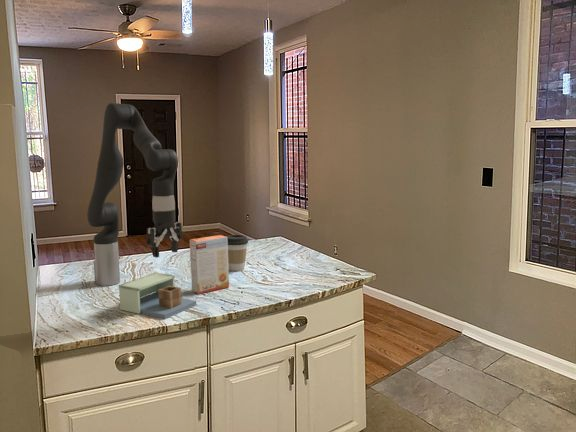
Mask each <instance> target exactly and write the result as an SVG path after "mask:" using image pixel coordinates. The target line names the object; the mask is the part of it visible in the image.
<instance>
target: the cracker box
mask: <svg viewBox="0 0 576 432" xmlns="http://www.w3.org/2000/svg"><path fill="white" fill-rule="evenodd" d="M189 253H190V254H189V257H190V258H189V259H190V276H191V277H190V279H191V291H193V292H194V293H196V294H197V295H200V294H205V293H209V292H213V291H218V290H223V289H227V288H230V276H229V275H230V274H229V273H230V272H229V271H230V270H229V268H228V241H227V237H226V236H224V235H222V234H217V235H212V236H205V237H198V238H191V239H189Z"/></svg>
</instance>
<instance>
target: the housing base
mask: <svg viewBox="0 0 576 432" xmlns="http://www.w3.org/2000/svg"><path fill="white" fill-rule="evenodd" d="M195 306H197V300H194V299H188V298H184V297H181V305H179V306H176V307H174V308H172V309H169V308H165V307H160V306H159V293H156V292H154V293H151V294H148V295H146V296H143V297H141V298H140V312H141V313H140V314H142V315H147V316H151V317H154V318H155V317H156V318H158V317H159V318H158V319H163V320H167V319H168V318H171V317H173V316H175V315H177V314H180V313H182V312H185V311H186V310H188V309H191V308H193V307H195Z"/></svg>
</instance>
